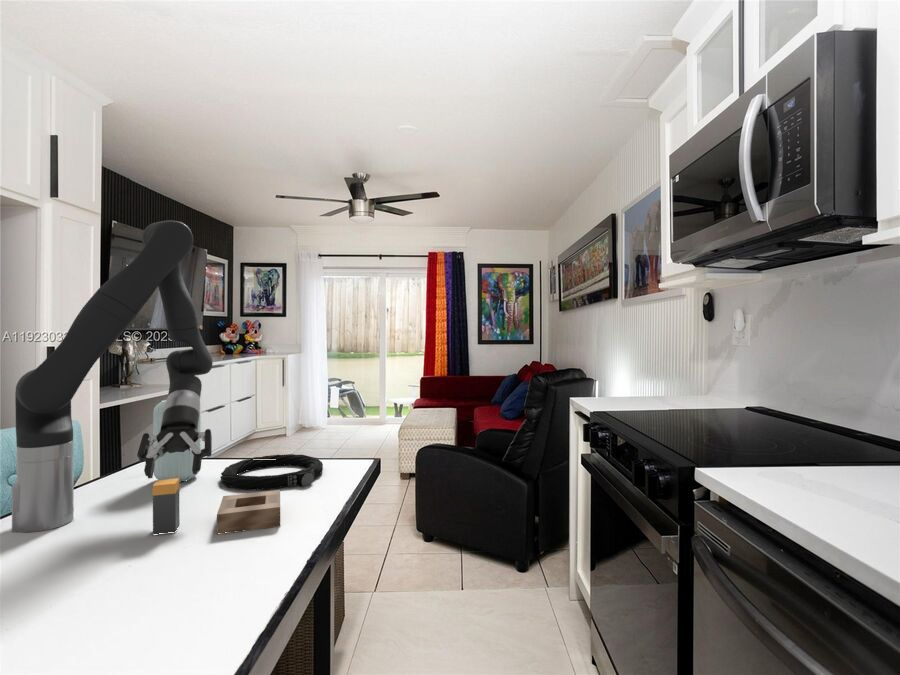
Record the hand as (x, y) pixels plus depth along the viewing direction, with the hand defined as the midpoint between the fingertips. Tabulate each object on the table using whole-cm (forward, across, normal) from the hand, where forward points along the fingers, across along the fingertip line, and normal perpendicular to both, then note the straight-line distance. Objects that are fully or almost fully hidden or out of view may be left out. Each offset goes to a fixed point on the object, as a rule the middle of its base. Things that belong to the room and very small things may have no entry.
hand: (172, 474), depth 103 cm
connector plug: (+11, 0, +3) cm, 11 cm away
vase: (-17, -5, +32) cm, 37 cm away
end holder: (+11, +16, +3) cm, 20 cm away
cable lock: (-12, +21, +27) cm, 36 cm away
